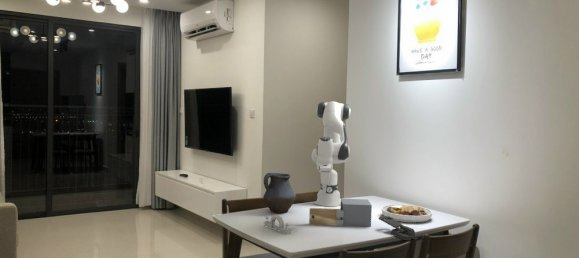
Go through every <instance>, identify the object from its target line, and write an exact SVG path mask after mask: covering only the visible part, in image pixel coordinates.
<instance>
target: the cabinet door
mask: <svg viewBox="0 0 579 258" xmlns="http://www.w3.org/2000/svg"><path fill="white" fill-rule="evenodd" d="M337 211H341V209H340V208H326V207H323V208H322V207H309V213H308V214H309V215H308V217H309V218H308V219H309V220H308V222H309V223H308V225H313V226H314V225H317V226H318V225H319V226H336V220H341V217H336V212H337Z"/></svg>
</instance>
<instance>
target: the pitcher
mask: <svg viewBox="0 0 579 258" xmlns="http://www.w3.org/2000/svg"><path fill="white" fill-rule="evenodd" d="M290 178H291V174H289V173H282V172H281V173H279V172H267V173H266V174H265V175H264V176H263V186H264V189H265V192H264V193H263V197H262V198H263V200H264V202H265V204H266V206H267V207H268V209H269V211H270V212H271V213H274V214H286V213H288V212H289V211H290V208H291V207H292V206H293V203H295V201H296V199H297V194H296V193H295V191H294V190H293V188H292V186H291V183H290ZM269 179H270V181H269Z"/></svg>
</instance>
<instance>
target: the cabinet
mask: <svg viewBox="0 0 579 258" xmlns="http://www.w3.org/2000/svg"><path fill="white" fill-rule="evenodd" d="M340 202H341V205H340V207H339V209H341V211H337V212H336V217H341V220H336V225H335V226H336V227H344V226H346V227H347V226H351V227H352V226H353V227H355V226H356V227H372V209H373V208H372V207H373V205H372V203H371V202H370V200H369V199H368V198H367V199H365V198H364V199H363V198H340Z"/></svg>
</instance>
